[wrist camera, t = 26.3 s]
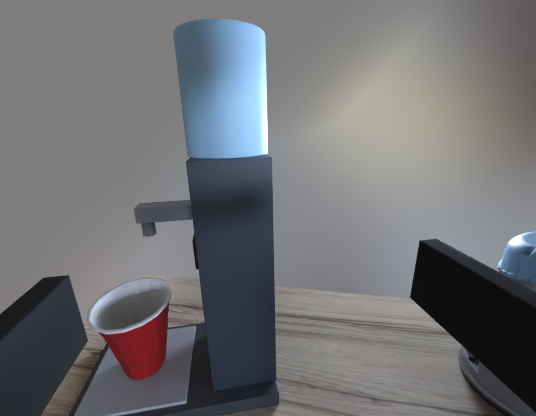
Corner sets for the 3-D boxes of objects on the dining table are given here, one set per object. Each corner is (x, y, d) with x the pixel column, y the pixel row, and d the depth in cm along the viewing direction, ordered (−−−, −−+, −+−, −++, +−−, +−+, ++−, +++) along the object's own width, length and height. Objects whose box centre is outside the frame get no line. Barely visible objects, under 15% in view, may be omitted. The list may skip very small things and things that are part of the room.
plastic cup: (88, 377, 38) (67, 310, 35) (151, 329, 47) (140, 271, 44) (135, 414, 33) (116, 339, 30) (195, 352, 42) (187, 288, 39)
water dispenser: (264, 322, 52) (255, 54, 37) (282, 403, 37) (279, 7, 22) (112, 344, 47) (37, 51, 33) (62, 446, 32) (-116, -12, 18)
